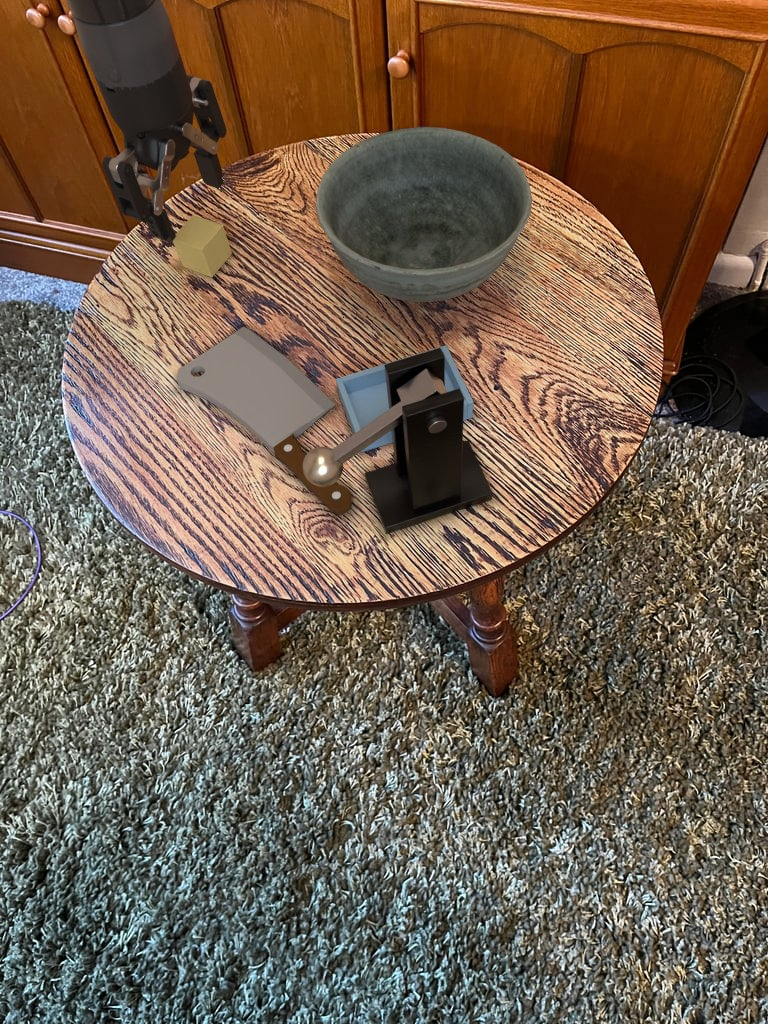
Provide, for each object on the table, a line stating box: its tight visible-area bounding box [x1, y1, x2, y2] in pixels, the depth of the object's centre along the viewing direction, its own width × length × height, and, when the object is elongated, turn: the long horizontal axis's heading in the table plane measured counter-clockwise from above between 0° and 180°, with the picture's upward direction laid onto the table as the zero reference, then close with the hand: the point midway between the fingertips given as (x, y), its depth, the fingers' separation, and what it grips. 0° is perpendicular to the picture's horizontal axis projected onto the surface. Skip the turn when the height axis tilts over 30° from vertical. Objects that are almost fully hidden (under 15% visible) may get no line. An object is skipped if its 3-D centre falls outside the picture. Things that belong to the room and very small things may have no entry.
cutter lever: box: [303, 369, 447, 487], centre depth 59 cm, size 13×3×3 cm
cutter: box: [364, 347, 494, 535], centre depth 62 cm, size 10×6×16 cm, turn 108°
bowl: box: [315, 126, 533, 303], centre depth 78 cm, size 21×21×10 cm
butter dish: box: [335, 345, 474, 453], centre depth 73 cm, size 11×7×2 cm, turn 108°
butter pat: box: [172, 214, 233, 278], centre depth 83 cm, size 4×4×4 cm
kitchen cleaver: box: [177, 326, 353, 516], centre depth 74 cm, size 24×1×10 cm
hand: (190, 211), depth 79 cm, fingers open, 8 cm apart
